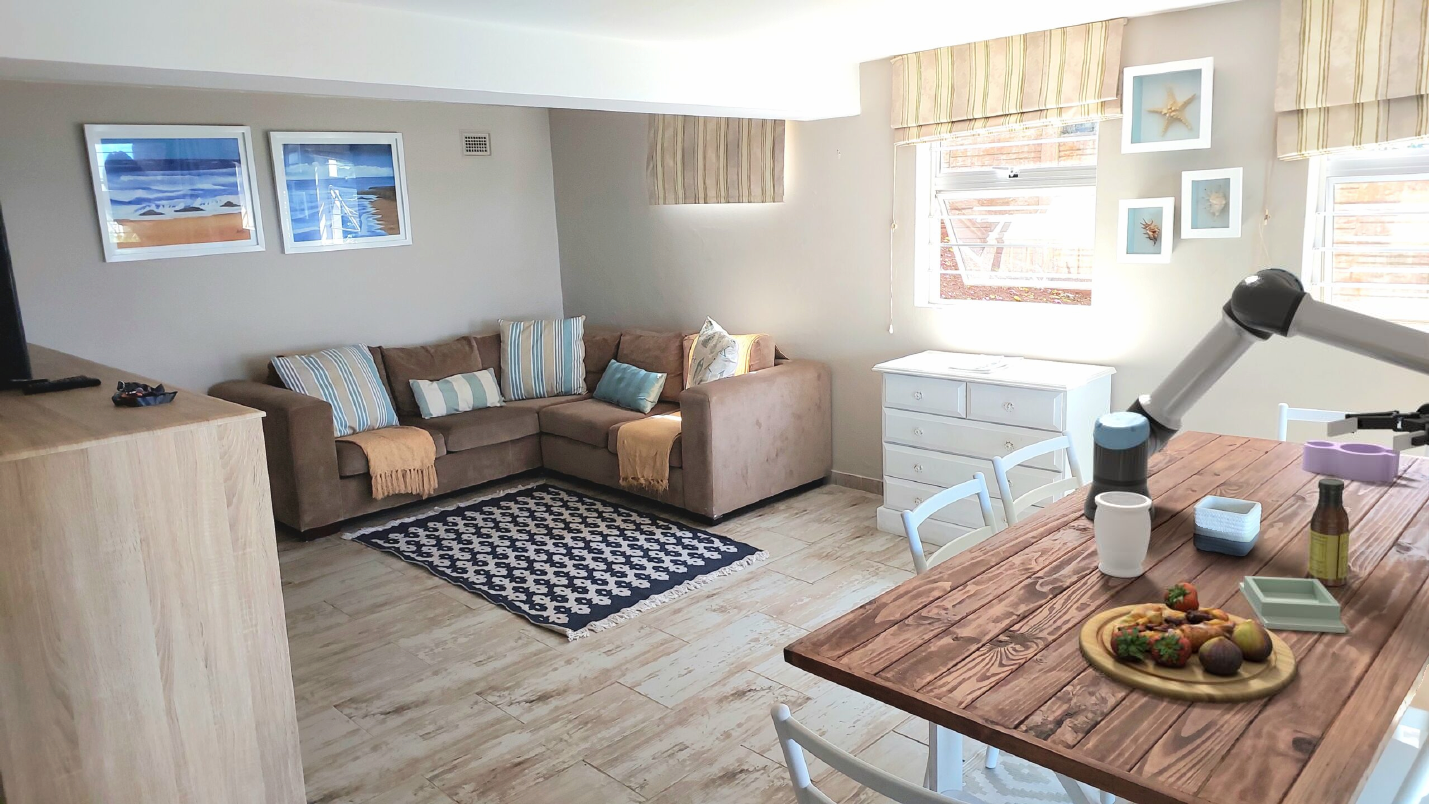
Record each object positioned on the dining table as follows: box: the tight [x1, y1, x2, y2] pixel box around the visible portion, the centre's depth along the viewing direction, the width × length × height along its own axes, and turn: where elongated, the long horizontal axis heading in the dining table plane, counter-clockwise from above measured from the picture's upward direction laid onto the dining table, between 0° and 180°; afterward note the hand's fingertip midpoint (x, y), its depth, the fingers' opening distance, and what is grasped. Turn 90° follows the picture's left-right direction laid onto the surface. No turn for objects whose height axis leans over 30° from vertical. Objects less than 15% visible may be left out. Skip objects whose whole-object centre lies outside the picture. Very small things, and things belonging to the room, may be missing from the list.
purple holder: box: [1301, 439, 1401, 483], centre depth 246 cm, size 20×12×7 cm, turn 48°
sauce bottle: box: [1307, 477, 1350, 587], centre depth 180 cm, size 7×6×20 cm
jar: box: [1093, 492, 1153, 579], centre depth 191 cm, size 11×10×15 cm
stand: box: [1238, 575, 1347, 634], centre depth 171 cm, size 12×18×4 cm, turn 165°
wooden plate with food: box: [1078, 582, 1298, 705], centre depth 157 cm, size 32×32×8 cm
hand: (1360, 436), depth 180 cm, fingers open, 13 cm apart
